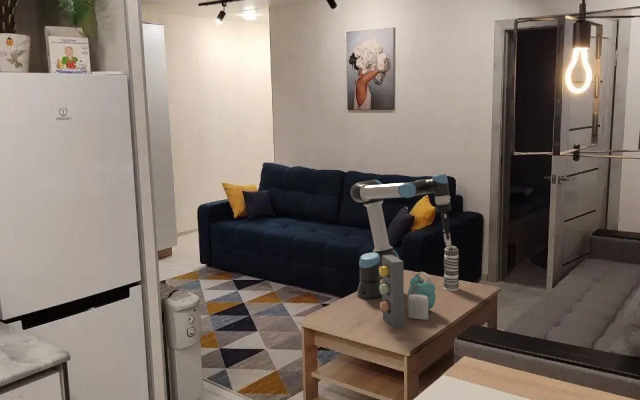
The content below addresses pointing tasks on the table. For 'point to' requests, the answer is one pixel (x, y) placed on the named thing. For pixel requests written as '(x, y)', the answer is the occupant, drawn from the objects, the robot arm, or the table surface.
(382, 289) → the sage button
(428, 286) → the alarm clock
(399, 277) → the button panel
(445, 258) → the leaning tower model
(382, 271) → the mustard button
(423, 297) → the photo printer
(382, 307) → the terracotta button
